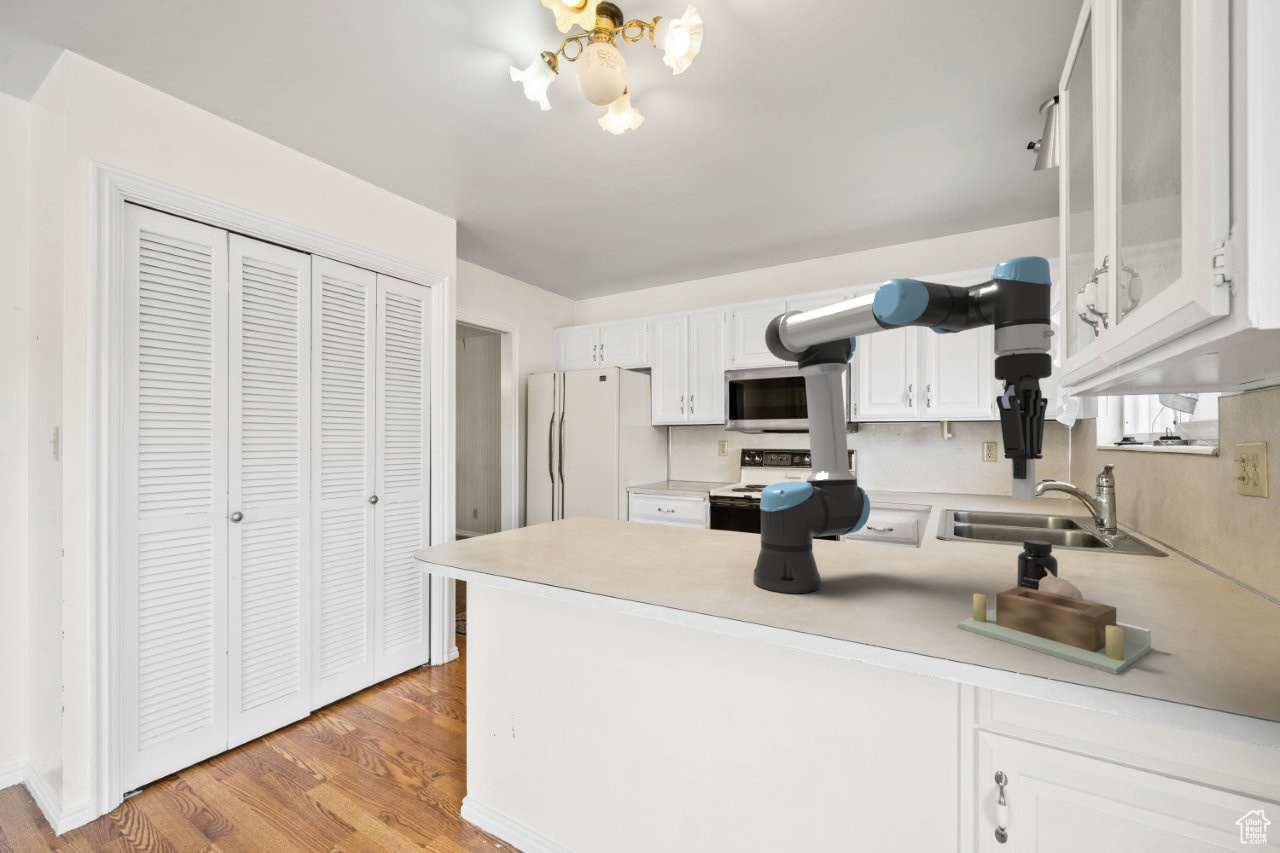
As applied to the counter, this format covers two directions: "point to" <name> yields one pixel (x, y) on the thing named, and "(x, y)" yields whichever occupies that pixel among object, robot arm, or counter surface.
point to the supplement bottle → (1035, 563)
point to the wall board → (1117, 655)
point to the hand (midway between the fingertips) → (1023, 499)
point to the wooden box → (1055, 617)
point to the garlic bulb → (1058, 586)
